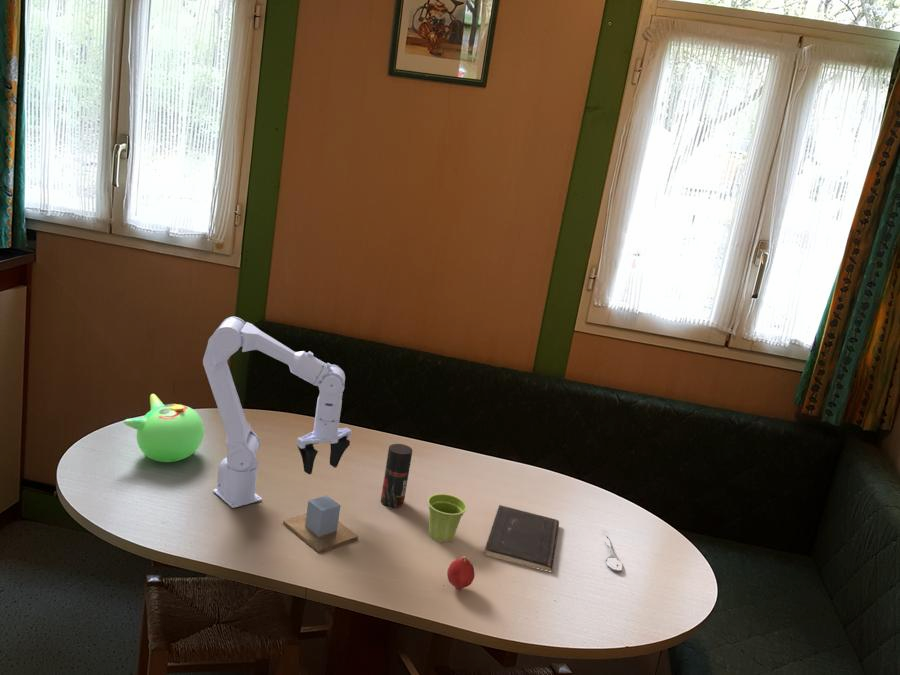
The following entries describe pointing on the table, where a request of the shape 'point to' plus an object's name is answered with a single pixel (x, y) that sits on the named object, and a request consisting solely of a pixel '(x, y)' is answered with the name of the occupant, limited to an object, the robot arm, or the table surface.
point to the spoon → (613, 557)
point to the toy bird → (168, 431)
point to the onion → (461, 573)
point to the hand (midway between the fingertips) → (320, 469)
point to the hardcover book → (523, 538)
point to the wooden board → (322, 542)
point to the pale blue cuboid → (322, 516)
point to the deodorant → (396, 475)
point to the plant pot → (444, 516)
